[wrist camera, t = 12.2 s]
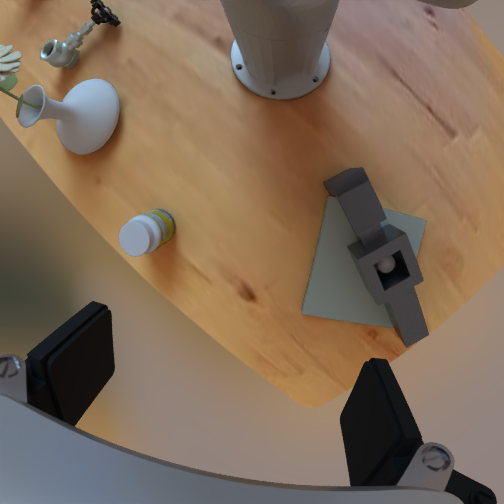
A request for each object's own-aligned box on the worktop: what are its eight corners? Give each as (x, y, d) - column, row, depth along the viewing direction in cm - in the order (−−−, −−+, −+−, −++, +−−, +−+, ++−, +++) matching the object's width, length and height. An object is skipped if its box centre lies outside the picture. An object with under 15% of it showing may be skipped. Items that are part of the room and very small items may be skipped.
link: (331, 216, 37) (340, 225, 31) (375, 193, 36) (391, 197, 30) (383, 330, 40) (396, 353, 35) (421, 310, 39) (438, 329, 33)
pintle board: (326, 162, 37) (335, 160, 31) (429, 190, 36) (451, 194, 30) (294, 308, 42) (295, 330, 36) (390, 324, 41) (404, 345, 35)
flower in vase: (135, 130, 37) (-8, 107, 13) (76, 168, 39) (-62, 184, 15) (110, 59, 35) (-11, 2, 11) (56, 99, 37) (-68, 81, 13)
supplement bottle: (147, 244, 41) (119, 261, 33) (142, 210, 40) (112, 221, 32) (179, 241, 41) (155, 258, 33) (174, 206, 40) (148, 216, 32)
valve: (70, 80, 36) (126, 28, 33) (44, 72, 30) (105, 12, 27) (57, 57, 35) (110, 7, 32) (33, 48, 29) (89, -9, 26)
